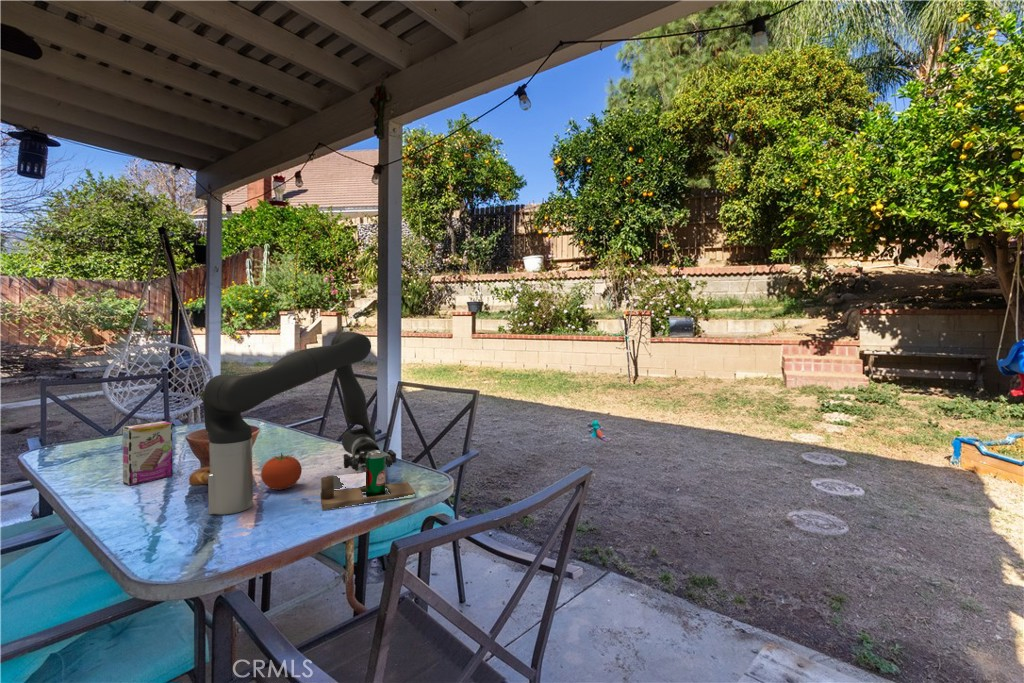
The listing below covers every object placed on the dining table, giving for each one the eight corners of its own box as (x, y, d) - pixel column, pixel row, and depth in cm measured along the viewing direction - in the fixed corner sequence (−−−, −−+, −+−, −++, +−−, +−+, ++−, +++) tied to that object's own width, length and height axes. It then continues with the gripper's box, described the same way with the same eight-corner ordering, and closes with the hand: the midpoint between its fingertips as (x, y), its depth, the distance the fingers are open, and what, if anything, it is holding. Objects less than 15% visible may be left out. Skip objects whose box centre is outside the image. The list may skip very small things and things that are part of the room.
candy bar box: (130, 486, 138) (128, 428, 138) (122, 483, 141) (120, 426, 140) (174, 476, 148) (173, 422, 147) (165, 473, 150) (164, 420, 150)
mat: (329, 491, 135) (329, 489, 135) (326, 477, 147) (326, 476, 147) (374, 485, 140) (374, 483, 140) (368, 472, 152) (368, 471, 152)
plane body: (322, 510, 121) (322, 484, 121) (320, 498, 130) (320, 473, 129) (415, 497, 130) (415, 473, 130) (407, 486, 139) (407, 464, 139)
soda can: (380, 501, 128) (379, 455, 127) (362, 499, 129) (361, 454, 128) (388, 494, 133) (388, 450, 132) (371, 493, 134) (371, 449, 133)
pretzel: (198, 489, 137) (197, 476, 137) (181, 482, 143) (181, 469, 143) (242, 478, 147) (242, 466, 146) (225, 471, 153) (224, 460, 153)
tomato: (255, 488, 137) (255, 453, 137) (293, 480, 144) (292, 446, 144) (269, 497, 130) (268, 460, 129) (307, 488, 137) (307, 453, 137)
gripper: (340, 441, 145) (345, 454, 131) (389, 436, 151) (399, 449, 136) (340, 466, 146) (346, 482, 131) (389, 461, 152) (399, 475, 137)
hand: (373, 465), depth 134 cm, fingers open, 8 cm apart
